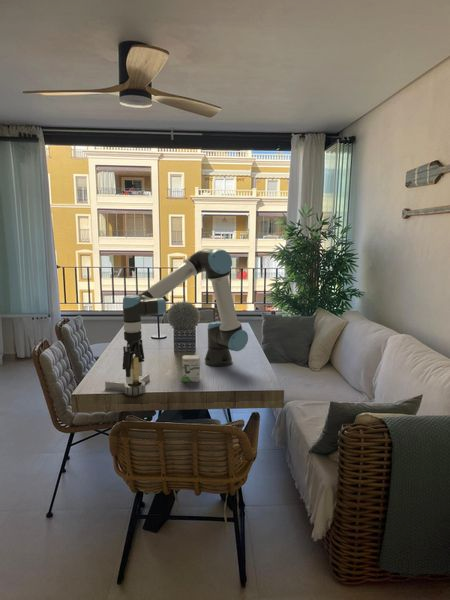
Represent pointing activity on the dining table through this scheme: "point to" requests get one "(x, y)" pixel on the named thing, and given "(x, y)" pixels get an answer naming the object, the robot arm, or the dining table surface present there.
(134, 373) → the pin
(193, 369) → the ink box
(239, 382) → the dining table surface
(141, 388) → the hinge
